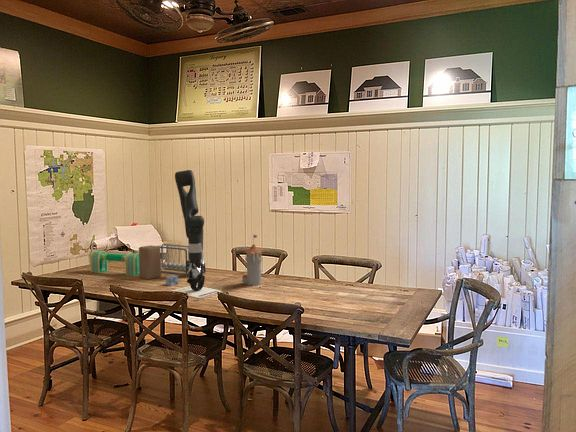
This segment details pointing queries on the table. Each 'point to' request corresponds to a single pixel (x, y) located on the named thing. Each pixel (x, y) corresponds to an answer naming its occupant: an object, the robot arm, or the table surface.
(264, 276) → the table surface
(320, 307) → the table surface
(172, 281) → the cube
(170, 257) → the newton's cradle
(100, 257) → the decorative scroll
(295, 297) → the table surface
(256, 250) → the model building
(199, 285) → the controller
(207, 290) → the letter
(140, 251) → the block
